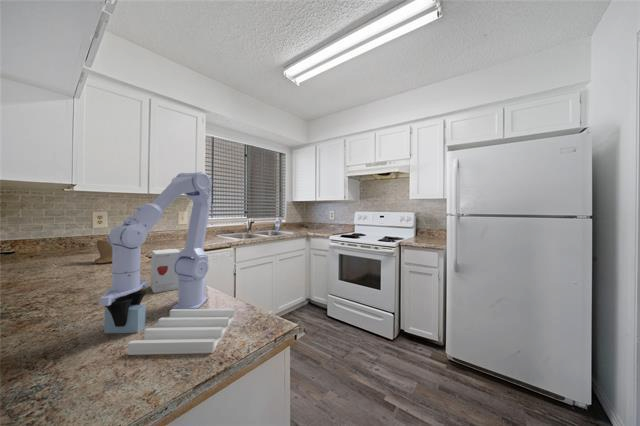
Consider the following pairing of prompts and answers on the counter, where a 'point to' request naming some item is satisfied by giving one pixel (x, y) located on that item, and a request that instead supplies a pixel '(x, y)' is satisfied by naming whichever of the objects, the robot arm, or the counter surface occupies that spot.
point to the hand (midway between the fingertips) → (125, 322)
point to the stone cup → (104, 250)
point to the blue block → (133, 320)
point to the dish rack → (184, 332)
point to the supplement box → (164, 270)
